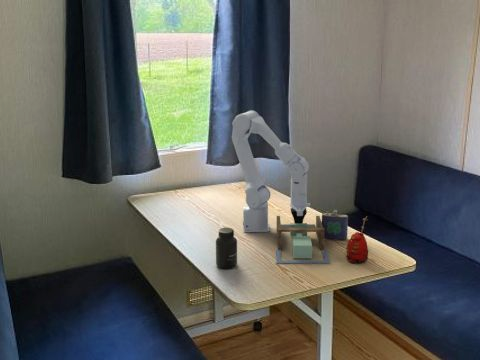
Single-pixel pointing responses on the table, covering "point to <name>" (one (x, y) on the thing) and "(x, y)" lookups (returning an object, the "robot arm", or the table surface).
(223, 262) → the supplement bottle
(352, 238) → the red clay folk toy
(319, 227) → the tunnel
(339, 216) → the flask
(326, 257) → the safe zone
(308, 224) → the mat
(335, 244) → the table surface
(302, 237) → the teal block
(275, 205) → the table surface
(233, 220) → the table surface
